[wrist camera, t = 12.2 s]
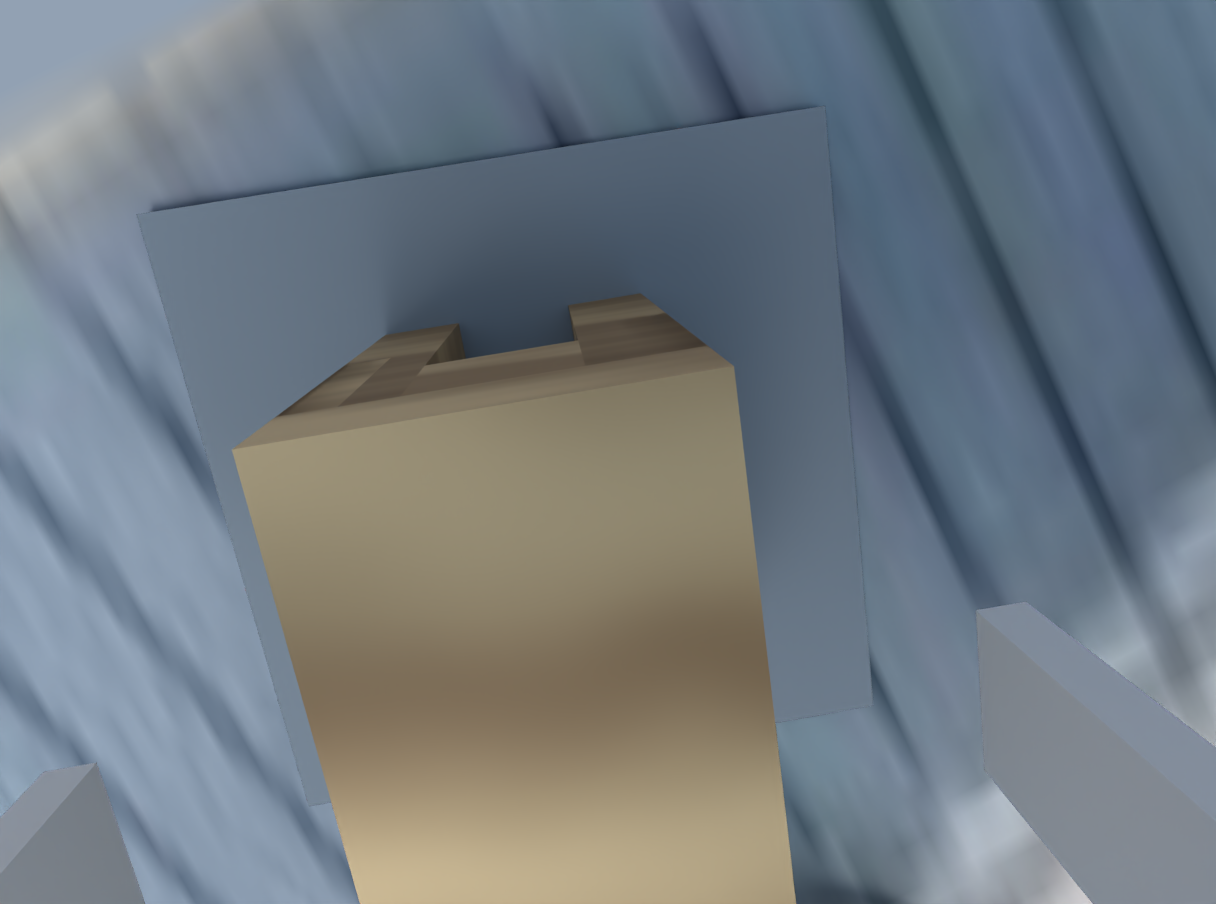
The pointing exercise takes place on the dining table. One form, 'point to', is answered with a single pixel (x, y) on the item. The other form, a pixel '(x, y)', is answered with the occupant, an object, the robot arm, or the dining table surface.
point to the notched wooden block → (530, 617)
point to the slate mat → (555, 333)
